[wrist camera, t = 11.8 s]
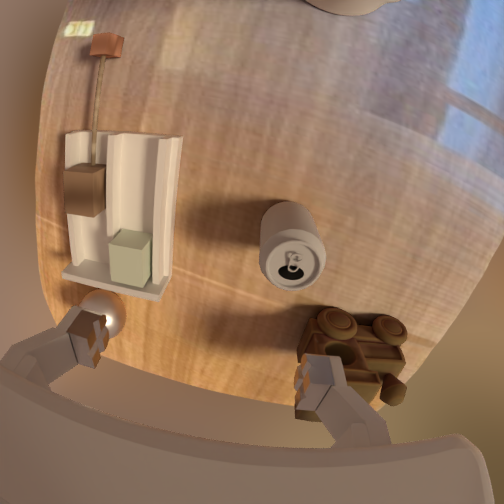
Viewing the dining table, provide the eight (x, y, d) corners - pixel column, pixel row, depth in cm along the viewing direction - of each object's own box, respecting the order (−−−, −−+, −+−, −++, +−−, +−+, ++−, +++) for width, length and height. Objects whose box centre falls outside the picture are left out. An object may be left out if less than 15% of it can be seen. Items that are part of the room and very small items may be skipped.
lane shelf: (78, 129, 36) (50, 136, 30) (183, 136, 37) (166, 142, 30) (82, 257, 46) (62, 278, 40) (171, 276, 47) (159, 302, 41)
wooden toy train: (287, 346, 53) (292, 423, 38) (306, 299, 48) (319, 379, 33) (380, 356, 54) (401, 422, 39) (406, 314, 49) (439, 381, 34)
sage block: (123, 228, 41) (108, 243, 36) (154, 234, 41) (141, 250, 37) (124, 263, 44) (111, 280, 39) (153, 269, 44) (142, 287, 39)
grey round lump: (90, 270, 47) (63, 303, 38) (136, 291, 49) (114, 329, 40) (87, 306, 51) (64, 339, 42) (129, 325, 53) (110, 362, 44)
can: (255, 242, 43) (252, 290, 33) (266, 194, 40) (266, 228, 29) (305, 252, 44) (316, 301, 33) (319, 205, 40) (338, 243, 30)
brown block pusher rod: (101, 40, 29) (76, 32, 23) (132, 37, 29) (109, 28, 23) (88, 197, 41) (65, 213, 35) (115, 201, 41) (93, 217, 35)
